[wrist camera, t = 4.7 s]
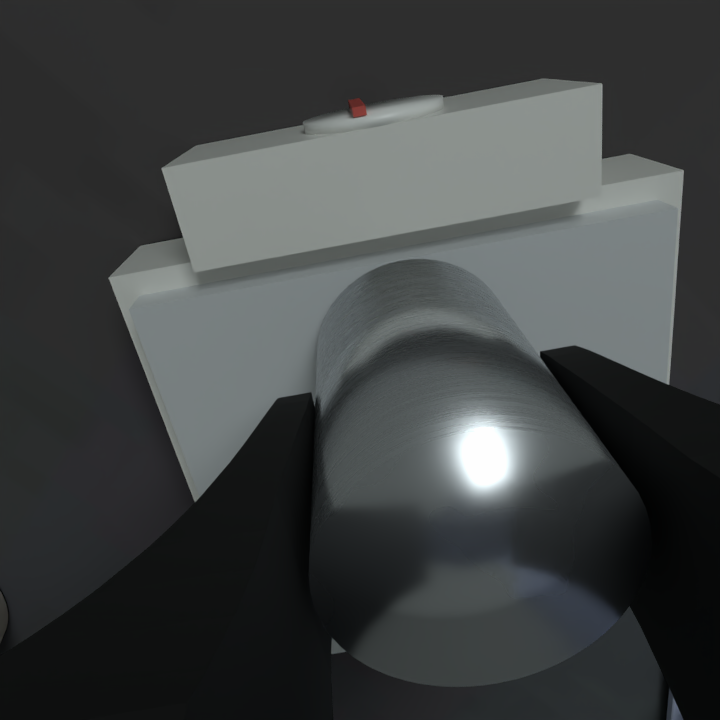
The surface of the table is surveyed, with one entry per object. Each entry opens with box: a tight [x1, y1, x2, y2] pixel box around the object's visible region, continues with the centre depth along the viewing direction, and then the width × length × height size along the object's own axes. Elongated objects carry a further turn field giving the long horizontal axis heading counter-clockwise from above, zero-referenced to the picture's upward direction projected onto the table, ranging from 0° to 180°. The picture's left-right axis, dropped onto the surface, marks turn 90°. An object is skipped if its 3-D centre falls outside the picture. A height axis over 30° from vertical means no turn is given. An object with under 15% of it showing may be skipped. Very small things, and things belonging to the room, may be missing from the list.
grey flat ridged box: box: [109, 79, 684, 654], centre depth 15 cm, size 14×12×3 cm
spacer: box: [309, 259, 652, 687], centre depth 10 cm, size 4×4×6 cm
